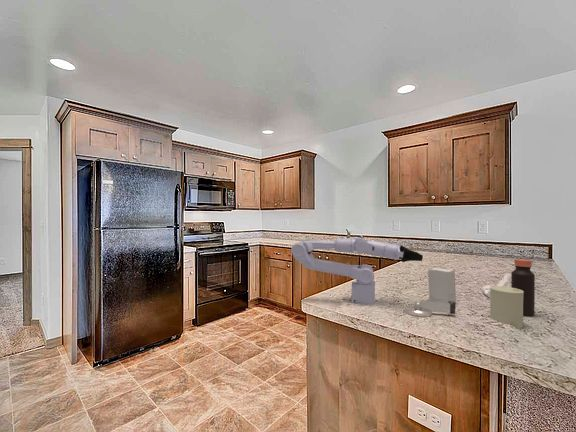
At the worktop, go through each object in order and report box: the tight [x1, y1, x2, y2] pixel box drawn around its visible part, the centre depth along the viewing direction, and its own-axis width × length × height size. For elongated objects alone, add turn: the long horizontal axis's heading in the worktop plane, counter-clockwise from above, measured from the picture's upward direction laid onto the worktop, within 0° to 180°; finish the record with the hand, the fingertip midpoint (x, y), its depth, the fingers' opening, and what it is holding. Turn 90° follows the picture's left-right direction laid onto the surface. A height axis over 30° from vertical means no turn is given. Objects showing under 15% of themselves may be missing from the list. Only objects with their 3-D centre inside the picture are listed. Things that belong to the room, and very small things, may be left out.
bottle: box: [510, 258, 536, 317], centre depth 107 cm, size 7×7×20 cm
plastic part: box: [481, 271, 511, 299], centre depth 129 cm, size 8×10×12 cm
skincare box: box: [427, 267, 457, 305], centre depth 115 cm, size 8×6×15 cm
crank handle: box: [403, 299, 456, 318], centre depth 102 cm, size 17×9×5 cm, turn 76°
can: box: [489, 285, 525, 329], centre depth 97 cm, size 9×9×12 cm
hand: (420, 256), depth 111 cm, fingers open, 7 cm apart
